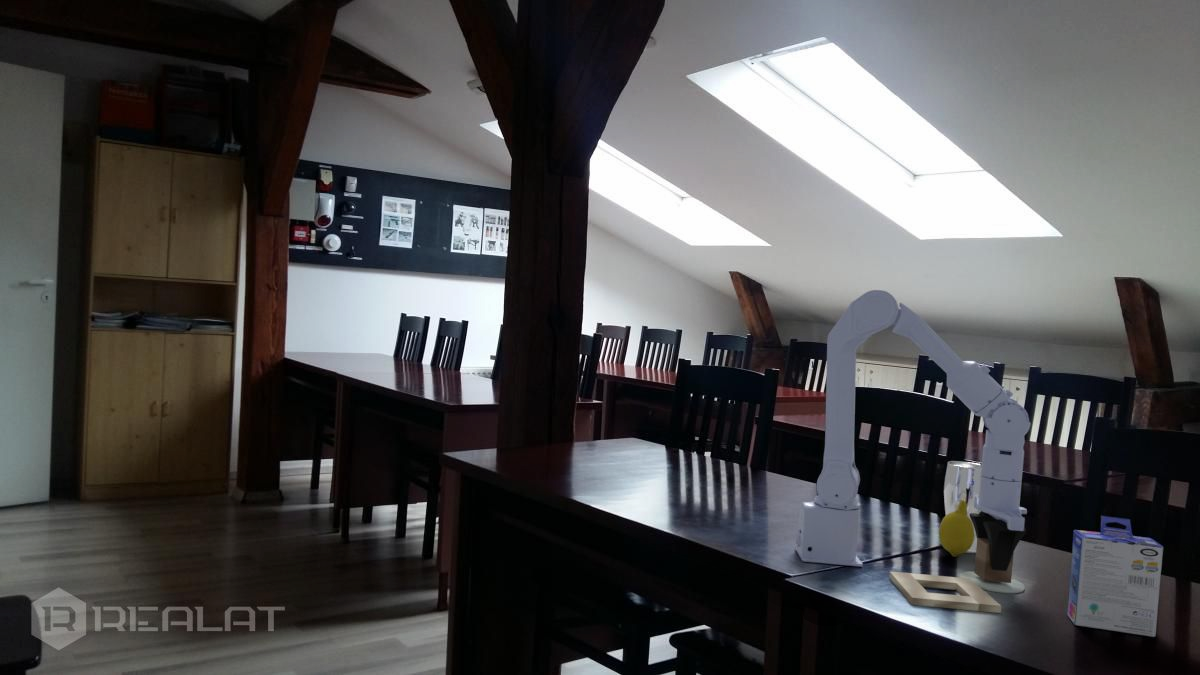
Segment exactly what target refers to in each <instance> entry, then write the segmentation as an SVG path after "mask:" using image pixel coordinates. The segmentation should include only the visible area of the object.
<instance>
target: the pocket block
mask: <svg viewBox="0 0 1200 675" xmlns="http://www.w3.org/2000/svg"><path fill="white" fill-rule="evenodd" d="M888 579H889V580H890V581H891V582H892V583H893V584H894V585H895V587H896V588H897V589H898V590H899V591H900V593H901V594H902V595H903V596H904V597H905V599H907V601H908V602H909V603H910V605H912V606H923V607H932V608H933V607H934V608H943V609H952V610H953V609H954V610H955V609H956V610H963V611H965V610H966V611H975V612H976V611H977V612H985V613H995V614H996V613H997V614H998V613H999V614H1001V613H1002V605H1001V604H1000V603H998V601H996V599H994V598H993V597H992V596H990V594H988V593H987V592H986V590H983V589H981V588H980V587H979V586H978V585H977V584H976V583H975V582H974V581H972V580H971V579H969V578H960V577H956V576H947V575H946V576H944V575H935V574H934V575H933V574H922V573H910V572H901V571H890V570H889V574H888ZM925 588H932V589H944V590H956V591H957V592H958V593H959V594H960V595H959V594H947V593H936V592H929V591H927V590H926V589H925Z"/></svg>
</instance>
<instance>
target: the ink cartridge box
mask: <svg viewBox="0 0 1200 675" xmlns="http://www.w3.org/2000/svg"><path fill="white" fill-rule="evenodd" d="M1110 523H1111V524H1113V523H1117V524H1120V525H1123V526H1125V529H1123V528H1118V527H1117V528H1116V527H1111V526H1110V527H1108V526H1107V525H1106V524H1110ZM1131 525H1132V524H1131V519H1128V518H1121V517H1114V516H1113V517H1112V516H1106V515H1100V532H1099V531H1091V530H1089V531H1088V530H1081V529H1080V530H1078V529H1074V530H1073V534H1072V551H1071V552H1072V554H1071V567H1070V582H1069V592H1068V593H1069V594H1068V595H1069V596H1068V604H1067V605H1068V606H1067V617H1068V618H1069V619H1070V620H1071V622H1072V623H1073V625H1074V626H1080V627H1087V628H1093V629H1098V630H1099V629H1101V630H1104V631H1105V630H1107V631H1112V632H1120V633H1125V634H1132V635H1139V636H1145V637H1146V636H1147V637H1151V638H1155V637H1156V636H1157V622H1158V610H1159V599H1160V598H1159V597H1160V586H1161V576H1162V575H1161V573H1162V566H1163V555H1164V546H1163V545H1161V544H1160V543H1159V542H1157V541H1156V540H1154V539H1153V538H1151V537H1143V536H1135V535H1133V531H1132V526H1131Z"/></svg>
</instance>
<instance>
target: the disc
mask: <svg viewBox="0 0 1200 675" xmlns="http://www.w3.org/2000/svg"><path fill="white" fill-rule="evenodd" d="M959 578H969V579H971V580H972V581H974V582H975V583H976V584H977V585H978V586H979V587H980V588H981V589H983V590H984V591H988V592H993V593H999V594H1000V593H1001V594H1020V593H1023V592H1024V591H1025V584H1024V583H1022V582H1020V581H1018V580H1017V579H1014V578H1012V577H1011V583H1004V582H993V581H984V580H982V579H981V578H980V577H979V576H978V575H977V574H975V573H974V571H964V572H962V573H960V576H959Z"/></svg>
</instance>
